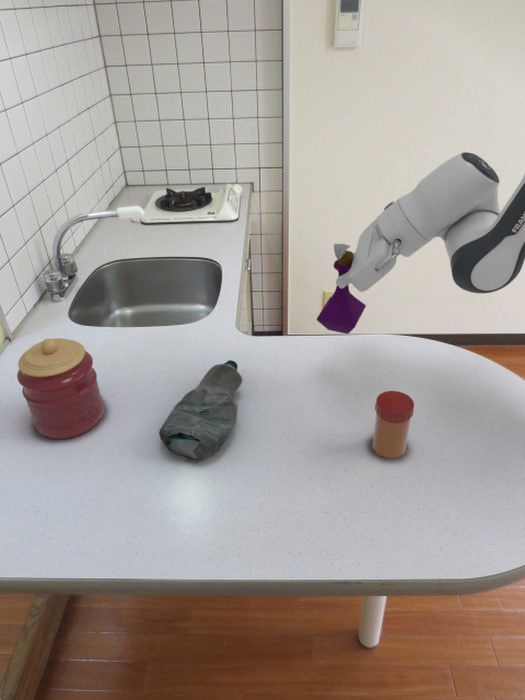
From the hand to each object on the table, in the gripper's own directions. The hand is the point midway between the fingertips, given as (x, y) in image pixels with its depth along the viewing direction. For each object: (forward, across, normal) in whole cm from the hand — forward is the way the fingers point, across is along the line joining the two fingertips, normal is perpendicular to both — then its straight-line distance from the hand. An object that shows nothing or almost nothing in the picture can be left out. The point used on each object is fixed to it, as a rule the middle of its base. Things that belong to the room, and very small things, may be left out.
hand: (340, 277), depth 97 cm
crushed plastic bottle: (+31, -18, -1) cm, 36 cm away
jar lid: (0, -19, -18) cm, 26 cm away
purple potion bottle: (+7, 0, -8) cm, 10 cm away
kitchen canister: (+49, -24, +18) cm, 58 cm away
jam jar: (+7, -19, -24) cm, 32 cm away
